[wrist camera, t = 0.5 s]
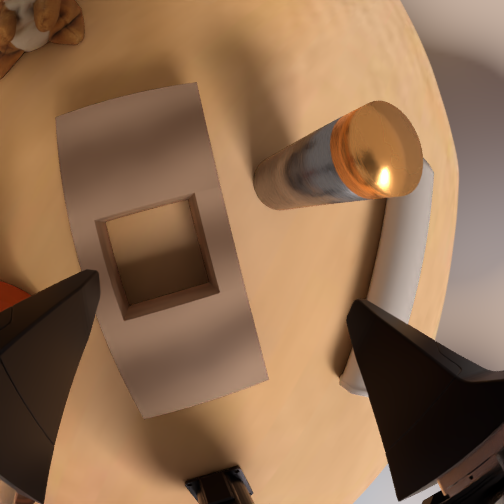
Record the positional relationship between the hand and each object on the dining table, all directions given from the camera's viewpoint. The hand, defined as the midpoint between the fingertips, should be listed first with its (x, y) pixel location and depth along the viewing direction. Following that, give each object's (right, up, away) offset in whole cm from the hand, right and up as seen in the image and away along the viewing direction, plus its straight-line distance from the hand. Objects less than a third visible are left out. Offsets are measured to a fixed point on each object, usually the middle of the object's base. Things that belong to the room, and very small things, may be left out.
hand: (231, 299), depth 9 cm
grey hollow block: (-6, +2, +12) cm, 13 cm away
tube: (+14, 0, +19) cm, 24 cm away
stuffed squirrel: (-20, +24, +6) cm, 32 cm away
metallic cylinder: (+3, +7, +14) cm, 16 cm away
